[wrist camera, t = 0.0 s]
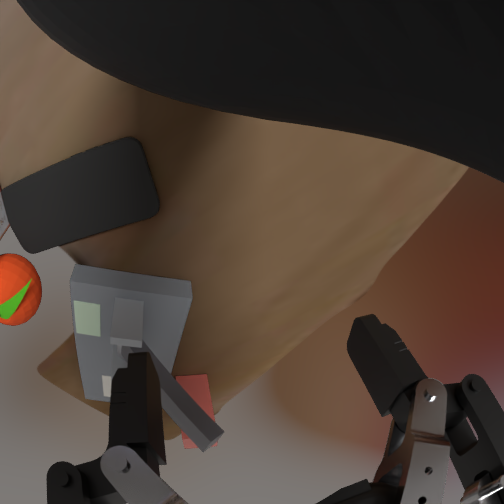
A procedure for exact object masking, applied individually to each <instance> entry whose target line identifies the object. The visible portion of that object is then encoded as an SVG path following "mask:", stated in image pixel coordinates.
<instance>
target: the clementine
mask: <svg viewBox="0 0 504 504" xmlns="http://www.w3.org/2000/svg"><path fill="white" fill-rule="evenodd" d="M41 297H42V287H41V281H40V277H39V275H38V273H37V271H36V269H35V268H34V266H33V265H32V264H31V262H29V261H28V260H27V259H26V258H24V257H22V256H20V255H17V254H2V255H0V323H2V324H6V325H12V326H15V325H20V324H22V323H25V322H27V321H28V320H29V319H30V318H31V317H32V316H33V315H34V314H35V313H36V311H37V309H38V307H39V305H40V302H41Z"/></svg>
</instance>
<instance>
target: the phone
mask: <svg viewBox="0 0 504 504" xmlns="http://www.w3.org/2000/svg"><path fill="white" fill-rule="evenodd" d="M1 196H2V200H3V204H4V207H5V211H6V215H7V219H8V222H9V224H10V226H11V228H12V230H13V231H14V233H15V235H16V237H17V239H18V240H19V242H20V244H21V245H22V247H23V248H24V250H26V251H27V252H29V253H32V254H34V253H38V252H41V251H44V250H47V249H50V248H53V247H56V246H59V245H62V244H65V243H68V242H71V241H74V240H78V239H81V238H84V237H87V236H90V235H94V234H97V233H100V232H103V231H107V230H110V229H113V228H117V227H120V226H123V225H127V224H130V223H134V222H137V221H141V220H144V219H148V218H151V217H153V216H154V215H156V214H157V213H158V211H159V206H160V202H159V198H158V195H157V191H156V188H155V185H154V182H153V179H152V176H151V173H150V169H149V166H148V163H147V160H146V157H145V153H144V150H143V147H142V145H141V143H140V142H139V141H138V140H137V139H135V138H132V137H126V138H122V139H119V140H116V141H113V142H109V143H106V144H104V145H102V146H99V147H98V146H97V147H94V148H92V149H89V150H86V151H85V152H83V153H82V152H81V153H78V154H76V155H73V156H71V157H70V158H68V159H65V160H63V161H61V162H58V163H56V164H54V165H51V166H49V167H47V168H45V169H42V170H40V171H38V172H36V173H34V174H31V175H29V176H27V177H25V178H23V179H21V180H19V181H17V182H15V183H13V184H11V185H9V186H7V187H5V188H4V189H3V190H2V191H1Z"/></svg>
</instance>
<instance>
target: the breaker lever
mask: <svg viewBox="0 0 504 504" xmlns="http://www.w3.org/2000/svg"><path fill="white" fill-rule="evenodd" d="M147 351H148V352H149V353H150V355H151V358H152V361H153V363H154V366H155V368H156V371H157V373H158V376H159V381H160V387H161V404H162V408H163V409H164V410H165V411H166V412H167V414H168V415H169V416H170V417H171V418H172V419H173V421H174V422H175V423H176V424H177V425H178V426H179V427H180V428H181V429H182V431H183V432H184V433H185V434H186V435H187V436H188V437H189V438H190V439H191V440H192V441H193V442H194V443H195V444H196V446H197V447H198V448H200V449H201V451H202V452H204V451H206V450H207V449H208V448H210V447H211V446H212V445H214V444H215V443H216V442H217V441H218V439H219V438H220V437H221V436H222V434H223V433H224V431H223V430H222V429H221V428H220V427H219V426H218V425H217V424H216V423H215V422H214V421H213V420H212V419H211V418H210V417H209V416H208V415H207V414H206V412H205V411H204V410H203V409H202V408H201V407H200V406H199V405H198V404H197V403H196V402H195V401H194V400H193V399H192V398H191V396H190V395H189V394H188V393H187V392H186V391H185V390H184V389H183V388H182V386H181V385H180V384H179V383H178V382H177V381H176V380H175V378H174V377H173V376H172V375H171V374H170V373H169V371H168V370H167V369H166V368H165V367H164V366H163V364H162V363H161V362H160V361H159V360H158V358H157V357H156V356H155V355H154V353H153V352H152V351H151V350H150V348H149V347H148V346H147V345H146V343H145V342H144V341H143V340H142V348H139V347H130V346H122V345H117V354H118V356H119V357H120V358H122V359H125V360H126V362H127V363H128V355H129V353H136V352H147Z"/></svg>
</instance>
